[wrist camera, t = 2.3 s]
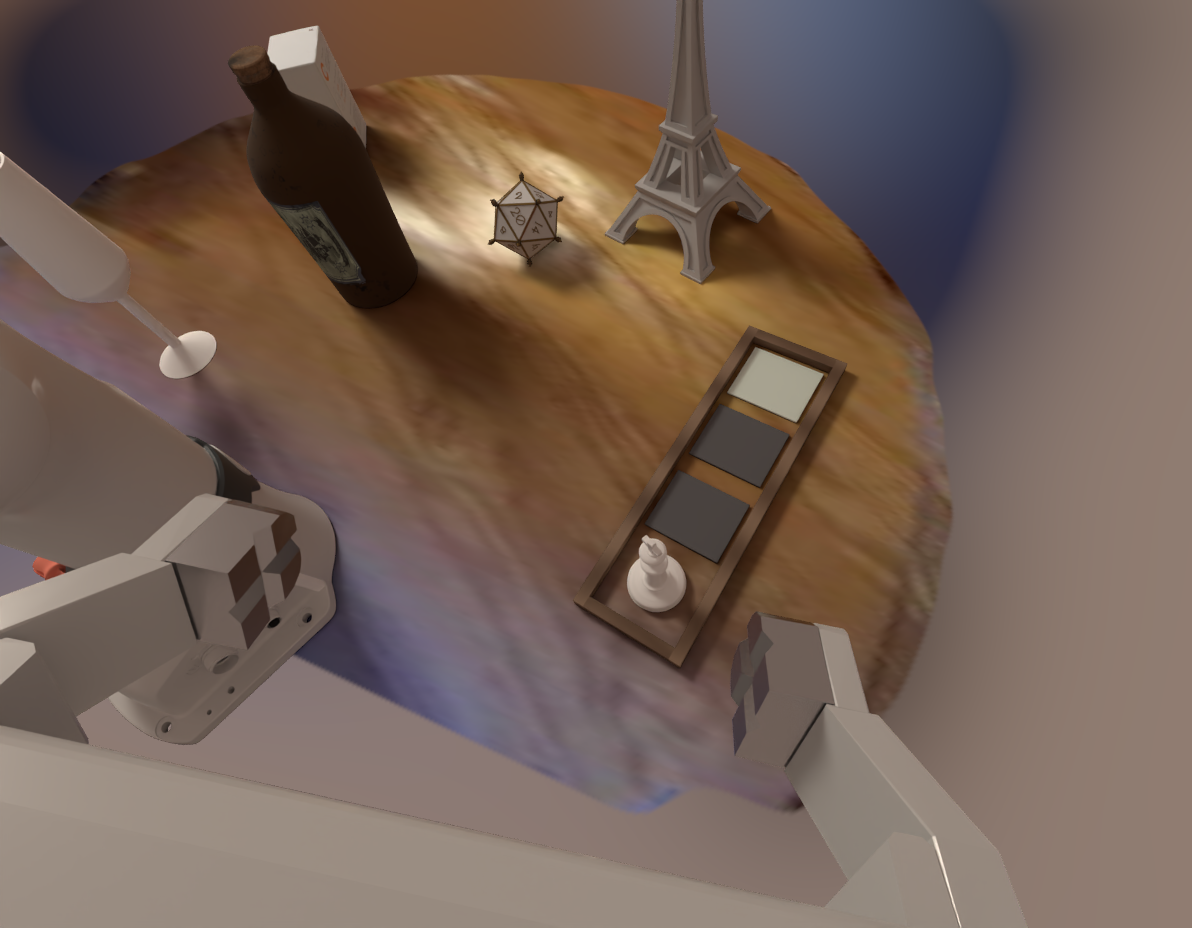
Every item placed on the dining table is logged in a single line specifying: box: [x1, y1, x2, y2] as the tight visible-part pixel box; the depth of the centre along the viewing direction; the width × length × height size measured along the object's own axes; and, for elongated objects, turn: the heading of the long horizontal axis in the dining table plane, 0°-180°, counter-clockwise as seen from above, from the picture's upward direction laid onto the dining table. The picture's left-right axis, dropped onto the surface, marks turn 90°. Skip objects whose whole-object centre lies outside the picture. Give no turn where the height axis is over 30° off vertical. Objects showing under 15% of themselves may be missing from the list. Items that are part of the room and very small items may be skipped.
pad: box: [727, 347, 824, 423], centre depth 59 cm, size 6×7×1 cm
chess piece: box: [627, 535, 686, 612], centre depth 47 cm, size 5×5×10 cm
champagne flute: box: [0, 152, 216, 378], centre depth 60 cm, size 7×7×24 cm
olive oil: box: [228, 46, 417, 308], centre depth 61 cm, size 11×11×25 cm
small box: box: [267, 26, 366, 148], centre depth 79 cm, size 8×6×13 cm
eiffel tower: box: [605, 0, 771, 284], centre depth 57 cm, size 13×13×30 cm
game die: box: [488, 172, 564, 267], centre depth 68 cm, size 9×8×10 cm
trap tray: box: [573, 326, 847, 668], centre depth 55 cm, size 32×10×1 cm, turn 147°
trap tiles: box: [645, 404, 789, 563], centre depth 55 cm, size 14×7×1 cm, turn 147°
